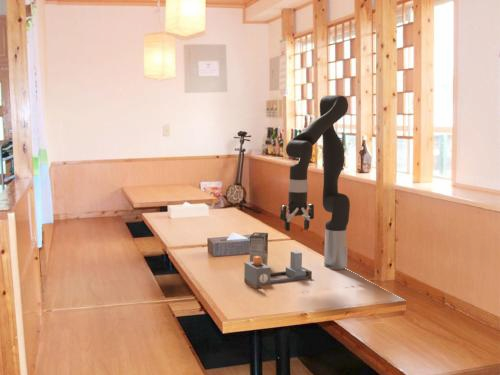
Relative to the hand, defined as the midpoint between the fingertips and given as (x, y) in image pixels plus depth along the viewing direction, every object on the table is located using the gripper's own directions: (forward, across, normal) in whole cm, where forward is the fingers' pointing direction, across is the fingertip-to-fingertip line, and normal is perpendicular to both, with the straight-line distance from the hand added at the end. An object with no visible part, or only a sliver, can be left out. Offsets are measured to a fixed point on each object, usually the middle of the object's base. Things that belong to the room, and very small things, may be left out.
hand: (296, 230), depth 261 cm
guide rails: (+19, +6, 0) cm, 20 cm away
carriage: (+19, 0, 0) cm, 19 cm away
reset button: (+13, +17, 0) cm, 21 cm away
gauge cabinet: (+19, +17, 0) cm, 26 cm away
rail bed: (+21, +8, 0) cm, 22 cm away
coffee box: (+21, +8, -19) cm, 29 cm away
